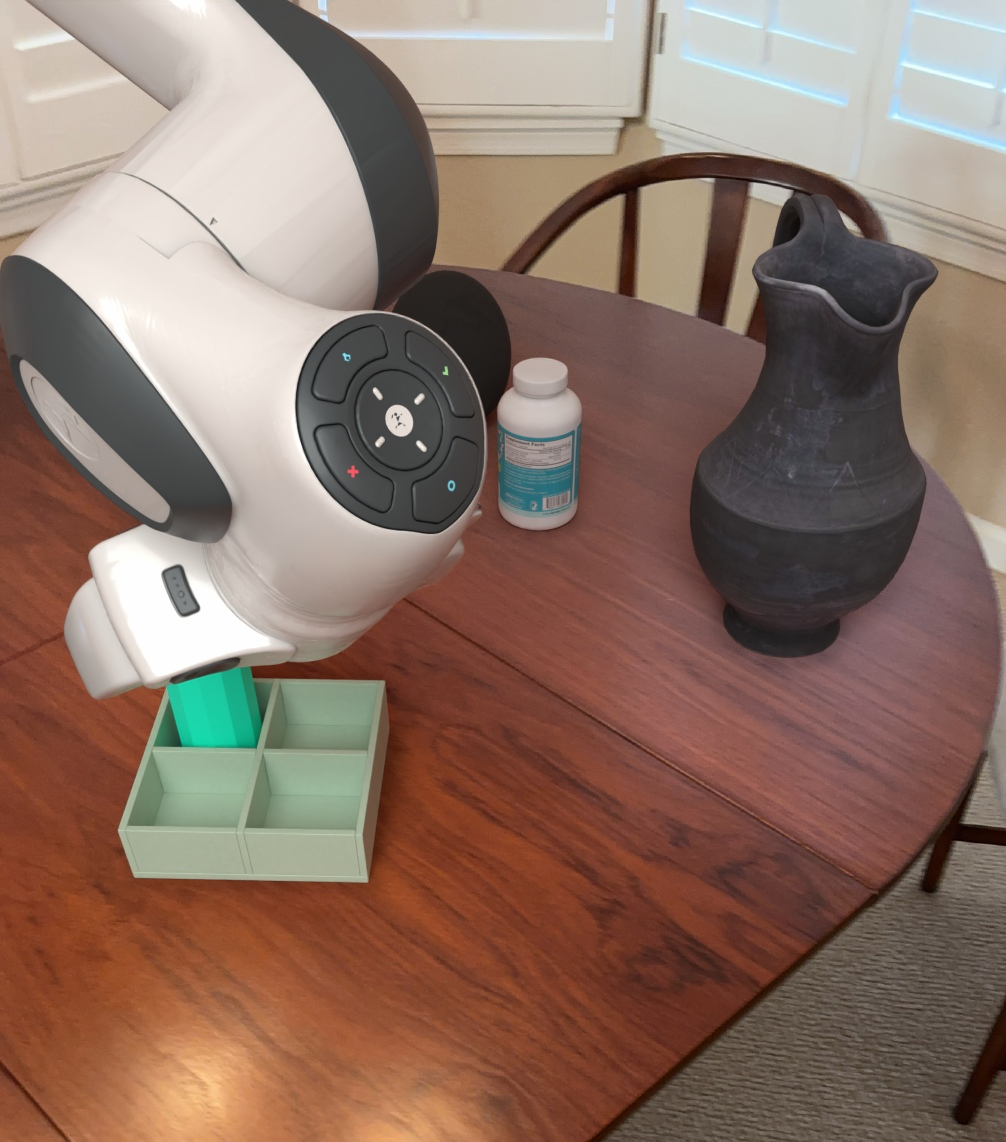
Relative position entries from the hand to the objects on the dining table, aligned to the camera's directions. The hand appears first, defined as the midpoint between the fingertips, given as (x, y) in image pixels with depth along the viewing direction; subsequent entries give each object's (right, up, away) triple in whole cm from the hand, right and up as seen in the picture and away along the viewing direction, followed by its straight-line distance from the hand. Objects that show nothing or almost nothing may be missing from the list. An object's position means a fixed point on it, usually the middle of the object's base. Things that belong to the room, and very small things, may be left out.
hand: (247, 629), depth 66 cm
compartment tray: (-2, -8, +18) cm, 20 cm away
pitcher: (+37, +9, +34) cm, 51 cm away
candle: (-6, -5, +21) cm, 22 cm away
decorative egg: (+9, +33, +55) cm, 64 cm away
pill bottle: (+18, +21, +44) cm, 52 cm away
